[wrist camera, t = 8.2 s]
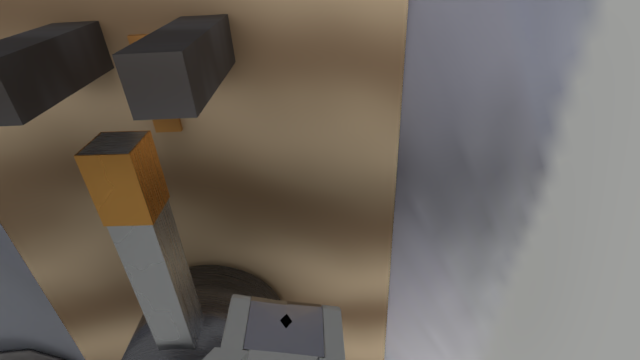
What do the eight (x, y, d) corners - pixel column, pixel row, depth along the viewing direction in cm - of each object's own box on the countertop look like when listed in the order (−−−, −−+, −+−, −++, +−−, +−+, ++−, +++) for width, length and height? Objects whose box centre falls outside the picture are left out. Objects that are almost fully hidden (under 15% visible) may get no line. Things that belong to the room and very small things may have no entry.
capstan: (295, 394, 25) (287, 522, 19) (186, 396, 25) (149, 523, 19) (256, 92, 14) (216, 190, 9) (67, 98, 14) (-91, 198, 9)
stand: (375, 421, 30) (387, 530, 24) (148, 426, 30) (110, 534, 25) (401, -30, 13) (457, -7, 8) (-96, -3, 14) (-366, 35, 8)
